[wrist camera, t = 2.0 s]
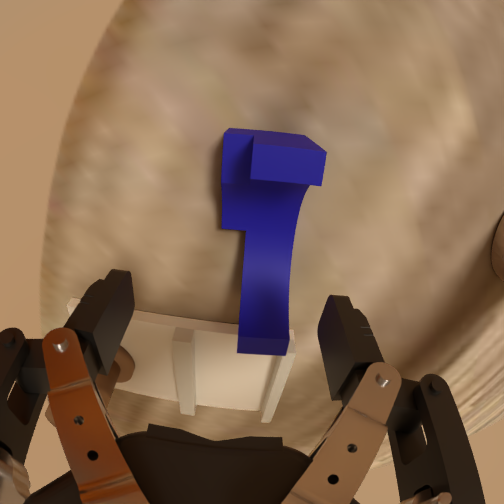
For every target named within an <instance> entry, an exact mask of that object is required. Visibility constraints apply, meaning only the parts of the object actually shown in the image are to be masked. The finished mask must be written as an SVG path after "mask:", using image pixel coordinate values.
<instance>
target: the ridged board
mask: <svg viewBox="0 0 504 504" xmlns="http://www.w3.org/2000/svg"><path fill="white" fill-rule="evenodd" d="M80 300H81V299H78V298H73V297H72V298H71V300H70V301H69V302H68V304H67V305H66V306H67V309H68V312H69V315H70V316H71V314H72V313H73V311H74V309H75V308H76V306H77V305H78V303H80ZM238 328H239V325H238V324H229V323H220V322H212V321H204V320H197V319H190V318H182V317H176V316H169V315H163V314H156V313H150V312H144V311H139V310H134V312H133V316H132V318H131V320H130V323H129V325H128V327H127V329H126V332H125V334H124V336H123V339H122V341H121V344H120V345H121V346H122V347H123V348H124V349H126V350H127V351H128V353H129V354H130V355H131V356H132V358H133V360H134V362H135V369H134V372H133V375H132V377H131V379H130V380H129V381H127V382H122V383H117V382H116V385H115V387H114V388H116V389H120V390H124V391H128V392H132V393H137V394H141V395H146V396H150V397H155V398H160V399H166V400H171V401H177V402H179V405H180V412H181V414H186V415H192V416H195V411H196V405H203V406H211V407H219V408H228V409H239V410H251V411H261V423H270V422H271V420H272V417H273V415H274V412H275V410H276V407H277V404H278V402H279V399H280V397H281V394H282V391H283V389H284V386H285V383H286V381H287V378H288V375H289V373H290V370H291V367H292V364H293V361H294V359H295V356H296V347H295V339H294V331H293V329H289V335H290V341H289V345H288V349H287V353H286V356H274V355H255V354H240V353H237V342H238Z"/></svg>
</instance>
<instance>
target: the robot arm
mask: <svg viewBox="0 0 504 504" xmlns="http://www.w3.org/2000/svg"><path fill="white" fill-rule="evenodd" d="M491 261H492V267H493V269H494V271H495V273H496V274H497V275H498V276H499V277H500V278H501V279H502V281H503V282H504V216H503V217H502V219H501V221H500V224H499V226H498V228H497V231H496V234H495V237H494V240H493V245H492V253H491ZM134 305H135V302H134V294H133V286H132V277H131V273H130V272H129V271H124V270H117V269H112V270H111V271H110V272H109V274H108V275H107V276H106V278H105V280H101V279H99V280H98V281H96V282H95V283H93V284H92V285H91V286H90V287H89V288H88V290H87V291H86V293H85V294H84V296H83V297H82V299H81V300H80V303H78V305H77V306H76V308H75V309H74V311H73V313H72V314H71V316H70V317H69V319H68V320H67V322H66V324H65V325H64V327H62V328H56V329H53V330H51V331H50V332H48V333H47V334H46V336H45V337H44V339H26V338H25V336H24V334H23V332H22V331H21V330H19V329H17V328H8V329H5V330H3V331H2V332H0V504H360V503H359V502H357V501H356V500H355V499H354V498H353V497H354V495H355V494H356V492H357V490H358V488H359V487H360V485H361V483H362V481H363V480H364V478H365V476H366V474H367V472H368V470H369V468H370V466H371V465H372V463H373V461H374V459H375V457H376V455H377V452H378V450H379V448H380V446H381V444H382V442H383V440H384V437H385V435H386V433H387V431H388V436H389V441H390V446H391V451H392V456H393V461H394V466H395V471H396V478H397V483H398V490H399V496H400V504H485V499H484V495H483V490H482V486H481V482H480V478H479V474H478V470H477V467H476V463H475V460H474V456H473V453H472V450H471V447H470V444H469V440H468V437H467V434H466V431H465V428H464V425H463V423H462V420H461V417H460V414H459V412H458V409H457V406H456V404H455V401H454V399H453V396H452V394H451V391H450V389H449V386H448V384H447V383H446V381H445V380H444V379H443V378H441V377H440V376H438V375H435V374H427V375H425V376H424V377H423V378H422V379H421V380H420V381H419V382H417V381H412V380H407V379H403V378H401V376H400V374H399V372H398V371H397V370H396V369H395V368H394V367H393V366H391V365H389V364H387V363H385V362H384V360H383V357H382V355H381V352H380V350H379V347H378V345H377V342H376V340H375V337H374V336H373V332H372V330H371V329H370V325H369V323H368V321H367V318H366V317H365V316H364V315H363V314H362V312H361V311H360V310H359V309H354V308H353V306H352V303H351V301H350V299H349V297H348V296H340V295H330V296H329V297H328V299H327V302H326V304H325V307H324V310H323V313H322V315H321V318H320V321H319V324H318V340H319V344H320V348H321V353H322V357H323V362H324V366H325V371H326V376H327V380H328V385H329V390H330V395H331V399H332V401H333V400H342V404H343V406H342V407H341V409H340V410H339V412H338V414H337V415H336V417H335V418H334V420H333V421H332V423H331V425H330V426H329V428H328V429H327V431H326V432H325V434H324V435H323V437H322V438H321V440H320V441H319V442H318V444H317V445H316V446H315V448H314V449H313V450H312V452H311V453H310V454H309V455H308V456H307V455H305V454H304V453H302V452H300V451H298V450H296V449H293V448H290V447H287V446H283V443H282V437H252V436H249V437H243V438H236V439H230V440H222V441H212V440H209V439H206V438H203V437H200V436H197V435H195V434H192V433H189V432H186V431H184V430H181V429H176V428H170V427H164V426H159V425H154V424H149V425H148V429H147V431H143V432H135V433H131V434H127V435H125V436H122V437H120V436H119V434H118V432H117V430H116V428H115V426H114V425H113V422H112V420H111V418H110V416H109V414H108V411H107V409H106V407H105V404H104V402H103V399H102V397H101V395H100V392H99V389H98V387H97V384H96V382H95V380H96V377H97V375H98V374H102V375H106V376H108V373H109V371H110V368H111V366H112V363H113V361H114V358H115V356H116V353H117V351H118V348H119V346H120V344H121V341H122V339H123V336H124V334H125V332H126V329H127V327H128V325H129V323H130V320H131V318H132V316H133V312H134ZM14 381H16V382H15V385H14V387H13V389H12V391H11V393H10V396H9V398H8V394H9V392H10V390H11V388H12V385H13V384H14ZM47 395H48V400H49V404H50V408H51V411H52V415H53V419H54V422H55V426H56V429H57V432H58V435H59V438H60V441H61V444H62V447H63V450H64V453H65V455H66V458H67V461H68V463H69V466H70V469H71V470H70V471H68V472H67V473H65V474H64V475H62V476H61V477H59V478H57V479H56V480H54V481H52V482H51V483H49V484H47V485H46V486H44V487H43V488H41V489H39V490H38V491H36V492H34V493H32V494H30V492H29V488H30V481H29V476H28V472H27V470H26V468H25V467H24V463H25V459H26V455H27V452H28V448H29V445H30V442H31V439H32V436H33V433H34V430H35V427H36V423H37V421H38V418H39V415H40V412H41V409H42V407H43V404H44V401H45V399H46V396H47ZM7 398H8V400H7ZM421 425H423V428H424V431H425V435H426V439H427V445H426V441H425V437H424V434H423V430H422V427H421Z"/></svg>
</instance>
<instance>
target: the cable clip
mask: <svg viewBox="0 0 504 504" xmlns="http://www.w3.org/2000/svg"><path fill="white" fill-rule="evenodd" d="M326 153H327V152H326V151H325V150H323V149H322V148H321V147H320V146H318V145H317V144H316V143H314V142H313V141H312V140H310V139H309V138H308V137H306V136H305V135H298V134H290V133H282V132H272V131H262V130H250V129H235V128H229V129H228V130H227V131H226V132H225V133H224V140H223V157H222V175H221V187H222V229H233V230H245V231H246V238H245V250H244V263H243V276H242V288H241V301H240V315H239V328H238V342H237V353H240V354H255V355H274V356H286V353H287V349H288V345H289V341H290V335H289V281H290V268H291V258H292V249H293V242H294V235H295V229H296V224H297V219H298V215H299V211H300V207H301V203H302V200H303V198H304V195H305V193H306V191H307V189H308V187H309V186H310V185H315V186H321V185H322V179H323V173H324V166H325V160H326Z"/></svg>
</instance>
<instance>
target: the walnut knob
mask: <svg viewBox="0 0 504 504" xmlns="http://www.w3.org/2000/svg"><path fill="white" fill-rule="evenodd" d="M134 369H135V362H134V360H133V358H132V356H131V355H130V354H129V353H128V351H127V350H126V349H124V348H123V347H122V346H121V345H120V346H119V348H118V351H117V353H116V356H115V358H114V361H113V363H112V366H111V368H110V371H109V373H108V376H106V375H102V374H98V375H97V377H96V380H95V382H96V384H97V387H98V389H99V392H100V395H101V397H102V399H103V402H104V404H105V407H106V409H107V406H108V404H109V401H110V398H111V395H112V393H113V390H114V387H115V385H116V382H117V383H122V382H127V381H129V380H130V379H131V377H132V375H133V372H134ZM45 416H46V418H47V419H48V421H50V423H51V424H52V425H53V426H55V422H54V419H53V415H52V411H51V408H50V404H49V406H48V408H47V410H46V412H45ZM55 427H56V426H55Z"/></svg>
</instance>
